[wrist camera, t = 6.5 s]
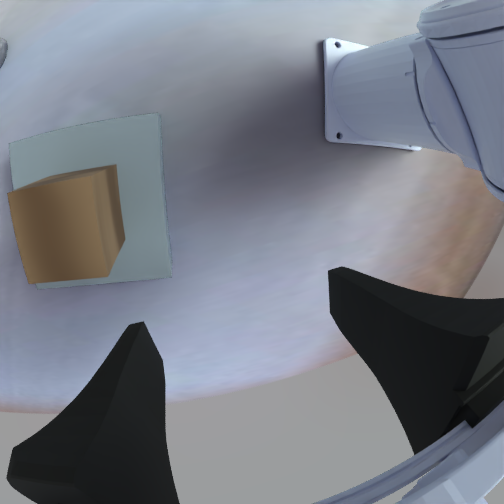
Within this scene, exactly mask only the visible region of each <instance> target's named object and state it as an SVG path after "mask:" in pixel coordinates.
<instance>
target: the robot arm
mask: <svg viewBox="0 0 504 504" xmlns="http://www.w3.org/2000/svg"><path fill="white" fill-rule="evenodd" d="M417 28H418V29H419V31H420V33H416V34H412V35H408V36H404V37H401V38H397V39H393V40H390V41H387V42H383V43H380V44H377V45H374V46H371V47H368V46H364V45H360V44H357V43H353V42H348V41H344V40H340V39H335V38H327V39H325V40H324V42H323V48H324V75H325V138H326V140H328V141H329V142H337V143H351V144H363V145H374V146H384V147H392V148H400V149H408V150H415V151H420V150H421V148H422V147H423V148H428V149H433V150H439V151H444V152H449V153H453V154H457V155H458V156H459V157H460V158H461V159H462V161H463V163H464V166H465V167H468V168H472V169H476V170H479V171H481V173H482V177H483V180H484V183H485V185H486V186H487V188H488V190H489V191H490V192H491V193H492V194H493V195H494V196H495V197H496V198H498V199H499V200H501V201H502V202H504V0H443V1H441V2H438V3H436V4H433V5H431V6H429V7H427V8H425V9H424V10H422V11H421V14H420V19H419V22H418V23H417ZM335 43H337V44H338V46H339V47H338V48H337V47H336V46H335ZM337 133H339V134H340V138H339V139H338V138H337V136H336V135H337ZM328 280H329V301H330V314H331V315H332V317H333V319H334V321H335V322H336V324H337V326H338V328H339V329H340V331H341V332H342V334H343V335H344V336H345V338H346V339H347V340H348V341H349V343H350V344H351V345H352V346H353V348H354V349H355V350H356V351H357V353H358V354H359V355H360V357H361V358H362V359H363V360H364V361H365V363H366V364H367V365H368V367H369V368H370V369H371V371H372V372H373V373H374V375H375V376H376V378H377V380H378V381H379V383H380V384H381V386H382V388H383V390H384V391H385V393H386V395H387V397H388V399H389V400H390V402H391V404H392V406H393V408H394V409H395V412H396V414H397V416H398V418H399V420H400V422H401V424H402V426H403V428H404V430H405V432H406V435H407V437H408V440H409V442H410V445H411V447H412V449H413V452H414V456H413V457H411V458H409V459H408V460H406V461H404V462H402V463H401V464H399V465H397V466H395V467H394V468H392V469H390V470H388V471H386V472H384V473H382V474H380V475H379V476H377V477H375V478H373V479H370V480H368V481H366V482H365V483H362V484H360V485H358V486H356V487H353V488H351V489H349V490H347V491H344V492H342V493H339V494H337V495H334V496H332V497H329V498H327V499H324V500H321V501H318V502H316V503H313V504H372V503H374V502H376V501H378V500H380V499H382V498H384V497H386V496H388V495H390V494H392V493H394V492H395V491H397V490H399V489H401V488H403V487H404V486H406V485H407V484H409V483H411V482H413V481H414V480H416V479H417V478H419V477H421V476H422V475H424V474H425V473H427V472H428V471H430V470H431V469H432V470H431V471H430V472H428V473H427V474H426V475H424V476H423V477H422V478H421V479H419V480H418V482H417V484H416V485H415V486H414V487H413V489H412V490H410V491H409V492H408V493H407V494H406V495H404V496H403V497H402V500H401V501H399V502H397V503H395V504H488V503H487V502H486V500H485V499H484V497H485V495H487V494H488V493H489V492H490V491H491V490H492V489H493V488H494V487H495V486H496V485H497V484H498V483H499V481H500V480H501V479H502V478H503V477H504V298H498V299H463V298H453V297H445V296H438V295H432V294H428V293H423V292H418V291H414V290H411V289H407V288H404V287H401V286H397V285H394V284H391V283H388V282H385V281H382V280H380V279H377V278H374V277H371V276H369V275H366V274H363V273H360V272H358V271H355V270H352V269H349V268H346V267H342V266H341V267H338V268H335V269H332V270H329V271H328ZM434 467H435V468H434ZM433 468H434V469H433ZM7 480H8V482H9V483H10V485H11V486H12V487H13V488H14V489H15V490H17V491H18V492H20V493H21V494H23V495H24V496H26V497H27V498H29V499H31V500H32V501H34V502H36V503H37V504H180V503H179V500H178V497H177V492H176V489H175V484H174V481H173V476H172V471H171V466H170V461H169V455H168V449H167V443H166V432H165V375H164V366H163V360H162V358H161V356H160V354H159V352H158V350H157V348H156V346H155V344H154V342H153V340H152V338H151V336H150V334H149V332H148V329H147V327H146V325H145V323H144V321H143V322H139V323H135V324H130V325H129V326H128V327H127V328H126V330H125V331H124V333H123V334H122V335H121V337H120V338H119V340H118V341H117V343H116V345H115V346H114V348H113V349H112V351H111V352H110V353H109V355H108V356H107V358H106V359H105V361H104V362H103V364H102V365H101V366H100V368H99V369H98V371H97V372H96V373H95V375H94V376H93V377H92V379H91V380H90V381H89V383H88V384H87V385H86V386H85V388H84V389H83V390H82V391H81V392H80V393H79V394H78V396H77V397H76V398H75V399H74V400H73V401H72V402H71V403H70V404H69V405H68V406H67V407H66V408H65V409H64V410H63V411H62V412H61V413H60V414H59V415H58V416H57V417H56V418H54V419H53V420H52V421H51V422H50V423H49V424H47V425H46V426H45V427H43V428H42V429H41V430H40V431H38V432H37V433H36V434H34V435H33V436H31V437H30V438H28V439H27V440H25V441H24V442H22V443H20V444H19V445H17V446H15V447H14V448H13V450H12V454H11V458H10V463H9V468H8V472H7Z"/></svg>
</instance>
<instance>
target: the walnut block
mask: <svg viewBox="0 0 504 504" xmlns="http://www.w3.org/2000/svg"><path fill="white" fill-rule="evenodd" d="M7 194H8V200H9V206H10V212H11V217H12V222H13V227H14V231H15V236H16V240H17V244H18V248H19V252H20V256H21V259H22V263H23V266H24V270H25V273H26V276H27V280H28V283H29V284H36V283H47V282H59V281H70V280H81V279H92V278H102V277H108V276H109V274H110V271H111V269H112V267H113V265H114V263H115V260H116V258H117V256H118V254H119V252H120V250H121V248H122V246H123V244H124V241H125V232H124V226H123V219H122V211H121V203H120V195H119V186H118V176H117V164H115V165H108V166H102V167H96V168H90V169H84V170H78V171H73V172H67V173H62V174H57V175H53V176H48V177H46V178H43V179H40V180H38V181H35V182H33V183H30V184H28V185H26V186H23V187H21V188H18V189H16V190H14V191H11V192H9V193H7Z"/></svg>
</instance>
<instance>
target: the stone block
mask: <svg viewBox="0 0 504 504" xmlns="http://www.w3.org/2000/svg"><path fill="white" fill-rule="evenodd" d="M6 52H7V42H6V40H4V39H2V38H0V68H1V66H2V64H3V62H4V60H5V58H6Z"/></svg>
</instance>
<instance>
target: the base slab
mask: <svg viewBox="0 0 504 504" xmlns="http://www.w3.org/2000/svg"><path fill="white" fill-rule="evenodd" d="M9 155H10V166H11V175H12V183H13V190H16V189H18V188H21V187H23V186H26V185H28V184H30V183H33V182H35V181H38V180H40V179H43V178H46V177H48V176H53V175H57V174H62V173H67V172H73V171H78V170H84V169H90V168H96V167H102V166H108V165H115V164H117V176H118V186H119V195H120V203H121V211H122V219H123V226H124V232H125V241H124V244H123V246H122V248H121V250H120V252H119V254H118V256H117V258H116V260H115V263H114V265H113V267H112V269H111V271H110V274H109V276H108V277H102V278H92V279H81V280H70V281H59V282H47V283H36V287H37V289H49V288H62V287H74V286H86V285H97V284H108V283H119V282H130V281H141V280H151V279H161V278H171V277H172V256H171V248H170V239H169V230H168V220H167V210H166V199H165V187H164V173H163V157H162V136H161V115H159V114H158V113H152V114H143V115H135V116H128V117H121V118H114V119H108V120H102V121H97V122H92V123H86V124H81V125H77V126H72V127H68V128H63V129H59V130H55V131H51V132H47V133H43V134H39V135H36V136H32V137H29V138H25V139H22V140H19V141H15V142H12V143H9Z"/></svg>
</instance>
